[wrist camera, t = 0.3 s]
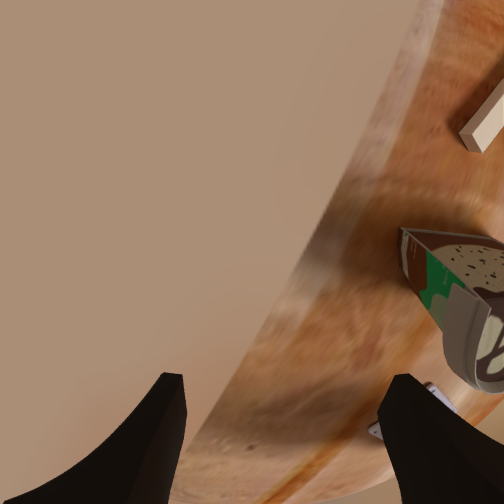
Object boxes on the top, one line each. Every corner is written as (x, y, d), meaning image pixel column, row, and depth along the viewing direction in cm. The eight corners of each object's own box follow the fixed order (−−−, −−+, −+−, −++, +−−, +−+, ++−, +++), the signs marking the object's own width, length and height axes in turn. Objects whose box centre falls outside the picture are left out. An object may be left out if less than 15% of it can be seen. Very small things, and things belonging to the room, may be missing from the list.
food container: (360, 312, 19) (420, 425, 10) (378, 224, 17) (481, 308, 8) (481, 306, 20) (549, 376, 10) (502, 238, 17) (589, 294, 8)
